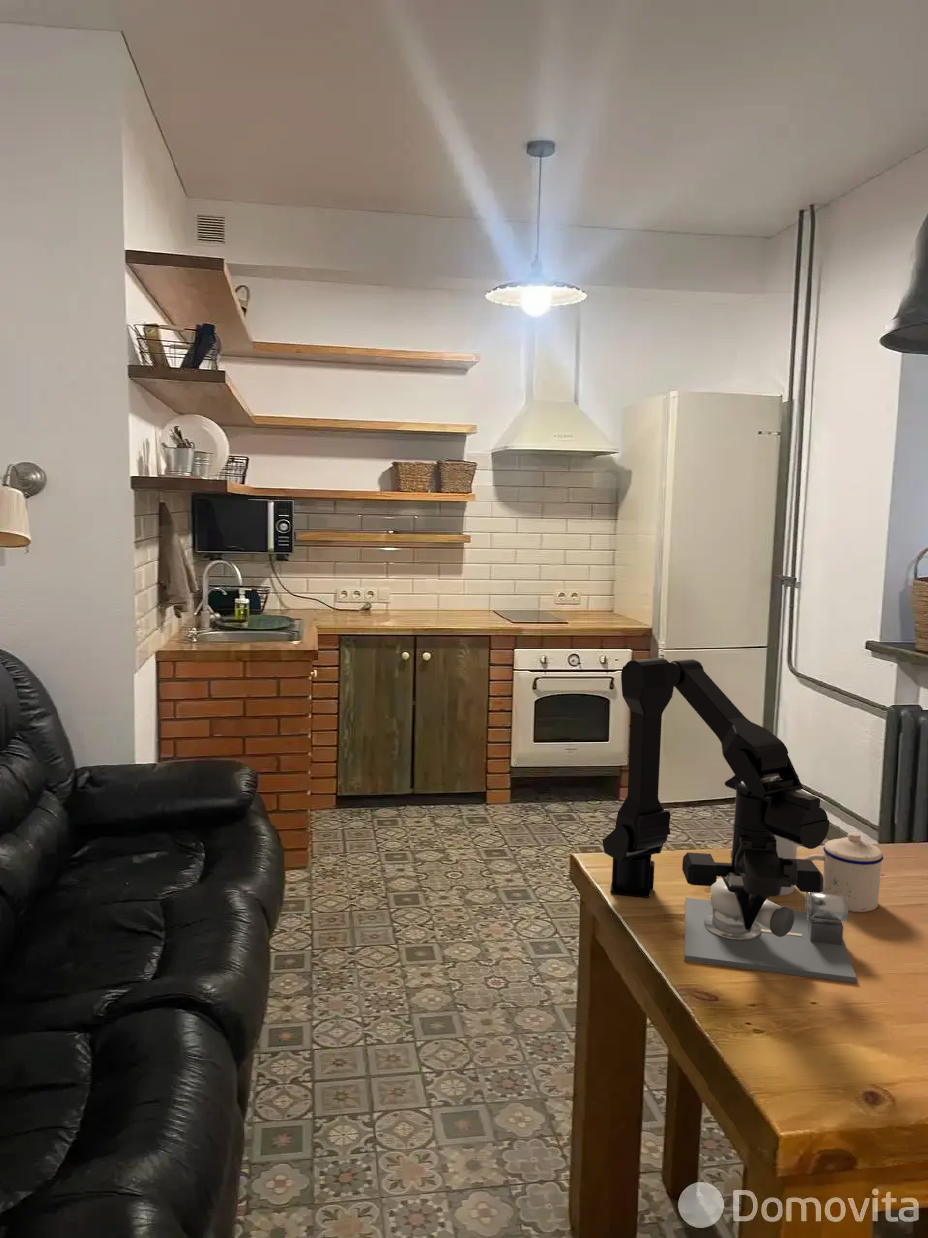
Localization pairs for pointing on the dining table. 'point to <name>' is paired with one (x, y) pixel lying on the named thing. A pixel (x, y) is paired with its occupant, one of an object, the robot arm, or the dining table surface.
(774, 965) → the board
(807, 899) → the duct run
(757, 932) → the duct stub
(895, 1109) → the dining table surface
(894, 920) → the dining table surface
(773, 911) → the elbow
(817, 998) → the dining table surface
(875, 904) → the teacup with lid
